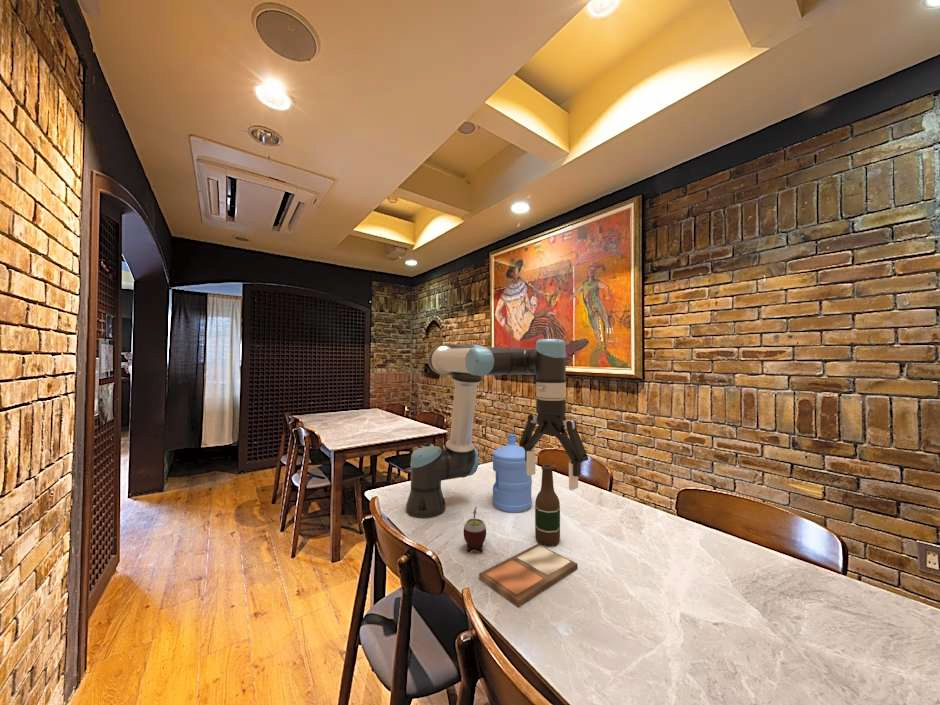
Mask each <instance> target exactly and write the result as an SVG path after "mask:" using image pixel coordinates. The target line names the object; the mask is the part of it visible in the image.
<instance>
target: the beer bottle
mask: <svg viewBox="0 0 940 705" xmlns="http://www.w3.org/2000/svg"><path fill="white" fill-rule="evenodd" d="M553 470H554V466H552V465H551V464H542V466H541V471H542V472H541V486H540V491H539V492H538V493H537V495H536V498H535V503H534V508H535V509H534V519H535V520H534V527H535V528H534V534H535V536H534V537H535V540H536V542H537V544H539V545H541V546H543V547H546V548H549V547H556V546H558V544H559V543H560V541H561V502H560V499H559V496H558V494H556V492H555V488H554V475H553V473H554V472H553Z"/></svg>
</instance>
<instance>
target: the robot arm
mask: <svg viewBox="0 0 940 705" xmlns="http://www.w3.org/2000/svg"><path fill="white" fill-rule="evenodd" d="M535 342H536V343H535V347H498V346H497V347H492V346H491V347H490V346H489V347H487V346H483V345H479V344H457V343H455V344H450V343H449V344H448V343H447V344H440V345H438V346H435V347H433V349H432V350H430V352H429V354H428V357H427V362H428V363H427V364H428V366H429V368H430V369H431V370H432V371H433V372H434V373H436V374H438V375H442V376H451V379H452V381H453V382H454V392H453V393H454V395H453V405H452V413H451V414H452V415H451V425H450V434H449V436H450V437H449V439H448V440H447V441H446V442H445V448H443V449H442V448H441V447H440V446H437V445H428V446H423V447H420V448H417V449H415V450H414V451H413V452H412V453H411V455H410V456H411V457H410V464H409V465H410V492H409V495H408V498H407V502H406V504H405V512H406V514H407V515H408V516H411V517H413V518H418V519H427V518H429V519H430V518H433V517H438V516H440V515H442V514H444V513H445V512H446V508H447V506H446V501H445V497H444V494H443V491H442V481H447V480H448V481H449V480H452V479H458V478H459V479H461V478H463V479H464V478H466V477H471V476H473V475H474V474H476V472H477V470H478V469H479V463H480V458H479V452H478V449H477V447H475V443H474V442H473V441H472V438H473V427H474V419H475V411H476V410H475V409H476V400H477V390H478V385H479V384H480V383H482V380H483V376H496V375H497V376H500V375H501V376H502V375H503V376H504V375H506V376H508V375H509V376H510V375H515V376H516V375H533V376H534V375H535V376H536V377H535V378H536V379H535V383H536V384H535V389H536V390H535V392H536V393H535V396H536V398H537V399H536V400H535V408H536V409H535V413H533V414H528V415H527V422H526V425H525V428H524V430H523V433H522V436H521V437H520V439H519V443H518V446H520V447H522V448H524V450H525V461H526V462H527V476H530V475H531V476H533V475H536V450H535V446H536V445H537V444H538V442H540V440H541V438H542V437H543V436H544V435H545V436H546V435H548V436H551V437H555V439H557V440H558V441H559V443H560V444H561V446H562V447H563V449H564V451H565V452H566V454H567V456H568V457H569V459H570V461H569V462H568V490H569V491H573V490H576V489H578V488H579V476H581V474H582V473H581V471H582V469H581V467H582V466H581V463H583V462H587V461H589V457H588V453H587V450H586V448H585V447H584V443H583V441H582V439H581V436H580V434H579V432H578V426H577V421H576V420H575V419H573V420H572V419H571V420H566V418H565V415H566V413H567V401H566V399H565V398H567V386H566V385H567V382H566V379H567V376H566V373H567V372H566V371H567V370H566V369H567V363H566V362H567V360H566V359H567V358H566V357H567V354H566V353H567V352H566V342H565V341H564V340H563V339H559V338H541V339H538V340H536V341H535ZM536 413H537V414H536ZM537 425H538V426H537ZM536 426H537V427H536ZM535 428H536V429H535Z"/></svg>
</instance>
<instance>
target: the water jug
mask: <svg viewBox="0 0 940 705" xmlns="http://www.w3.org/2000/svg"><path fill="white" fill-rule="evenodd" d="M507 436H508V437H507V444H506V445H503V446H501V447H499V448H497V449H495V450H493V451H492V458H491V459H492V462H491V463H492V470H493V471H494V472H495V483H494V484H493V485H492V498H491V499H492V505H493V507H495V508H496V509H498V510H500V511H503V512H506V513H522V512H525V511H527V510H530V508H531V507H532V505H533V498H532V485H533V480H532V475H530V476H527V462H526V461H525V450H524V448H523V447H520V446H519V444H518V445H517V439H516V436H517V434H515V433H508V434H507Z"/></svg>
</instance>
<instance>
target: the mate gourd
mask: <svg viewBox="0 0 940 705" xmlns="http://www.w3.org/2000/svg"><path fill="white" fill-rule="evenodd" d="M477 509H478V507H477V506H475V508H474V509H473V513H472V514H473V518H470V519H467V521H466V522H465V524H464V526H463V531H462V532H463V538H464V539H463V540H464V541H465V543H466V547H467V550H466V553H468V554H470V553H471V552H473V551H477V552H479V553H483V552H484V550H483V546H484V542H485V540H486V538H487V526H486V524H485V522H484V521H483V520H482V519H479V518H476V514H477Z"/></svg>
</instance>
